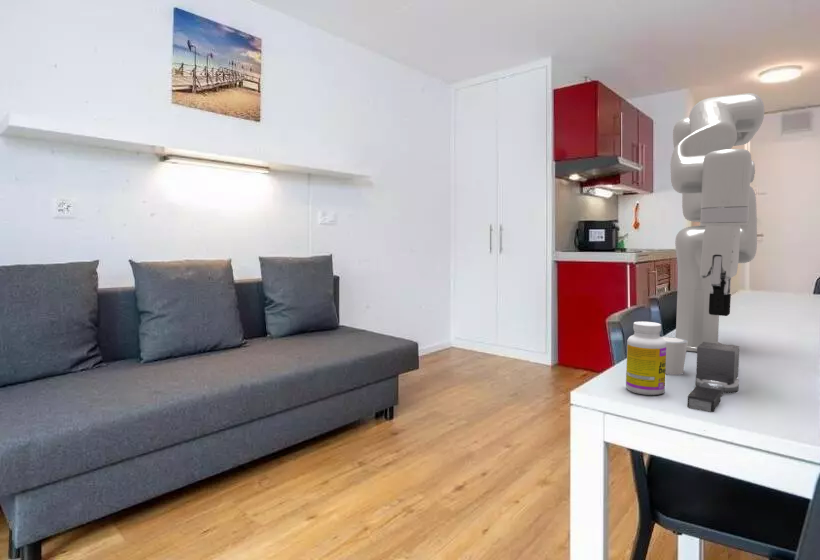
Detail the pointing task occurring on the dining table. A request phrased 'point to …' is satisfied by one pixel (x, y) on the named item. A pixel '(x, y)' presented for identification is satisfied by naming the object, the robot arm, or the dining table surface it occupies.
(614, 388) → the dining table surface
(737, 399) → the dining table surface
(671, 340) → the white cup
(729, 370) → the grey cube
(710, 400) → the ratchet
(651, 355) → the supplement bottle
